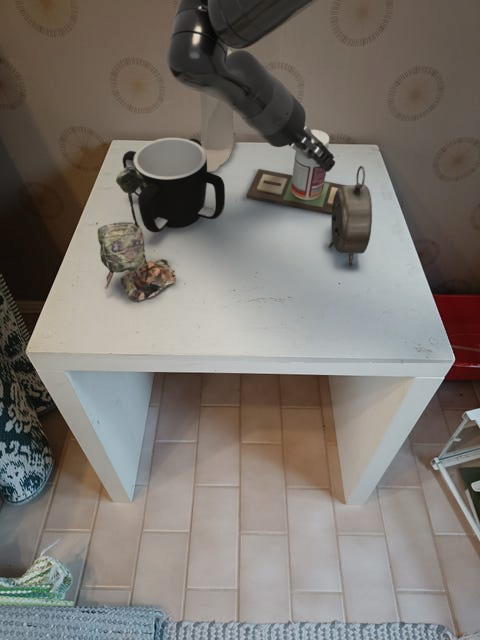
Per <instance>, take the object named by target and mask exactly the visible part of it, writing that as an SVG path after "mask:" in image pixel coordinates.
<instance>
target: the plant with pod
mask: <svg viewBox="0 0 480 640" xmlns="http://www.w3.org/2000/svg"><path fill="white" fill-rule="evenodd" d="M115 182H116V184H117V185H118V186H119V188H120V189H121V190H122V192H124V193H125V194H127V197H128V201H129V204H130V209H131V215H132V219H133V222H134V223H133V222H132V221H131V222H128V221H119V222H113V223H110V224H105V225H103V226H100V227H98V228H97V241H98V243H99V245H100V248H99V249H100V250H99V255H100V261H101V263H102V264H103V266H105V268H107V269H108V271H109V272H108V274H107V276H106V281H105V285H104V289H106V290H107V289H108V287H109V286H110V283H111V280H112V278H113V276H114V273H116V274H119V273H124V272H125V273H124V274H122V276H121V277H119V279H120V280H119V284H120V285H121V286H122V287H123V289H124V292H125V294H126V295H127V296H128V299H130V300H132V301H133V302H137V301H138V302H141V301H143V300H146V299H148V298H151V297H154V296H156V295H157V294H158V293H159V292H160V291H161V290H162V289H166V288H167V285H170V284H175V283H176V280H177V279H176V278H177V277H176V275H175V274H174V273H175V271H176V270H173V269H171V266H170V264H168V260H167V259H162V258H161V259H159V260H156V261H154V262H153V261H147V258H146V253H145V252H146V250H145V235H144V233H143V229H142V228H141V226H140V225H139V224H138V220H137V215H136V212H135V207H134V200H133V195H132V194H135V193H134V192H135V191H136V190H137V188H138V187H139V186H140V185H143V186H144V187H146V186H147V185H146V184H145V183H144V182H143V177H142V176H141V174H140V173H139V172H138V171H136V169H134V168H133V167H132V166H130V165H129V166H127V167H126V168H125V169H124V168H123V169H122V170H121V171H119V172H118V174H117V176H116V179H115ZM98 224H99V222H95V224H94V225H95V226H96V225H97V226H98Z"/></svg>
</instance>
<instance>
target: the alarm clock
mask: <svg viewBox="0 0 480 640" xmlns="http://www.w3.org/2000/svg"><path fill="white" fill-rule="evenodd" d="M361 170H362V180H361V183H359V175H360V174H359V173H360V171H361ZM365 180H366V170H365V167H364V166H363V165H360V166H359V167H358V169H357V171H356V180H355V181H356V184H353V185H352V184H350V185H349V184H348V185H347V186H341V187H340V188H339V189H338V190H337V191H336V193H335V196H334V200H333V205H331V208H332V215H331V222H330V223H331V226H330V227H331V242H330V244H329V245H328V249H331V248H332V247H334V249H335V251H336V252H337V253H339V254H344V255H346V254H348V258H349V259H348V262H349V263H348V266H349V267H353V266H354V264H353V262H354V254H364V253H365V252H366V250H367V248H368V246H369V243H370V240H371V235H372V234H371V232H372V225H373V203H372V197H371V192H370V189H369V187H368V186H367V185H366V184H365Z"/></svg>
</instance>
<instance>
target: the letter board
mask: <svg viewBox="0 0 480 640" xmlns="http://www.w3.org/2000/svg"><path fill="white" fill-rule="evenodd" d="M292 176H293V174H288V173H283V172H277V171H272V170H268V169H267V170H266V169H262V168H258V170H257V172H256V174H255V176H254V178H253V181H251V185H250V187H249V189H248V191H247V193H246V199H250V200H254V201H259V202H264V203H269V204H274V205H280V206H284V207H290V208H294V209H298V210H299V209H300V210H305V211H308V212H309V211H310V212H313V213H318V214H319V213H320V214H325V215H329V216H332V208H331V205H333V200H334V196H335V193H336V191H337V190H338V189H339V188H340V187H341V186H347V185H346V184H342V183H337V182H331V181H326V180H325V181H324V186H323V191H322V194H321V195H320V196H319V197H318V198H316V199H314V200H303V199H300V198H297V197H296V196H294V194H293V193H292V191H291V185H292Z"/></svg>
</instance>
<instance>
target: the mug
mask: <svg viewBox="0 0 480 640" xmlns="http://www.w3.org/2000/svg"><path fill="white" fill-rule="evenodd" d="M122 165H123V169H125V168H126V167H127V166H129V165H130V166H132V167H133V168H134V169H136V171H138V172H139V173H140V174H141V176H142V177H143V182H144V183H145V184H146V185H147V186H146V187H144V186H143V185H140V186H139V187H138V188H137V190H136V191H135V192H134V193H133V194H134V195H136V196H137V197H138V199H137V203H138V209H139V213H140V214H139V215H140V217H141V221H142V224H143V226H144V227H145V229H146V230H147V231H148V232H150V233H153V234H158V233H161V232H162V231H163V230H164V229H165V228H169V229H181V228H186V227H189V226H191V225H194V224H195V223H196V222H198V220H199V219H200V218H203V219H207V220H215V219H217V218H219V217H220V216H221V214H222V213H223V211H224V209H225V205H226V204H225V203H226V188H225V182H224V180H223V178H222V177H221V176H220V175H218V174H215V173H212V172H207V156H206V152H205V150H204V149H203V148H202V145H201V140H199V139H197V138H190V139H187V138H182V137H164V138H158V139H154V140H152V141H150V142H147V143H146V144H143V145H142V146H141V147H139V149H138V150H137V151H135V150H127V152H125V153H124V154H123V156H122ZM208 184H209V185H212V186H213V189H214V198H215V199H214V201H215V202H214V203H215V204H214V209H213V208H209V207H206V206H205V202H206V196H207V195H206V194H207V185H208Z"/></svg>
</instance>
